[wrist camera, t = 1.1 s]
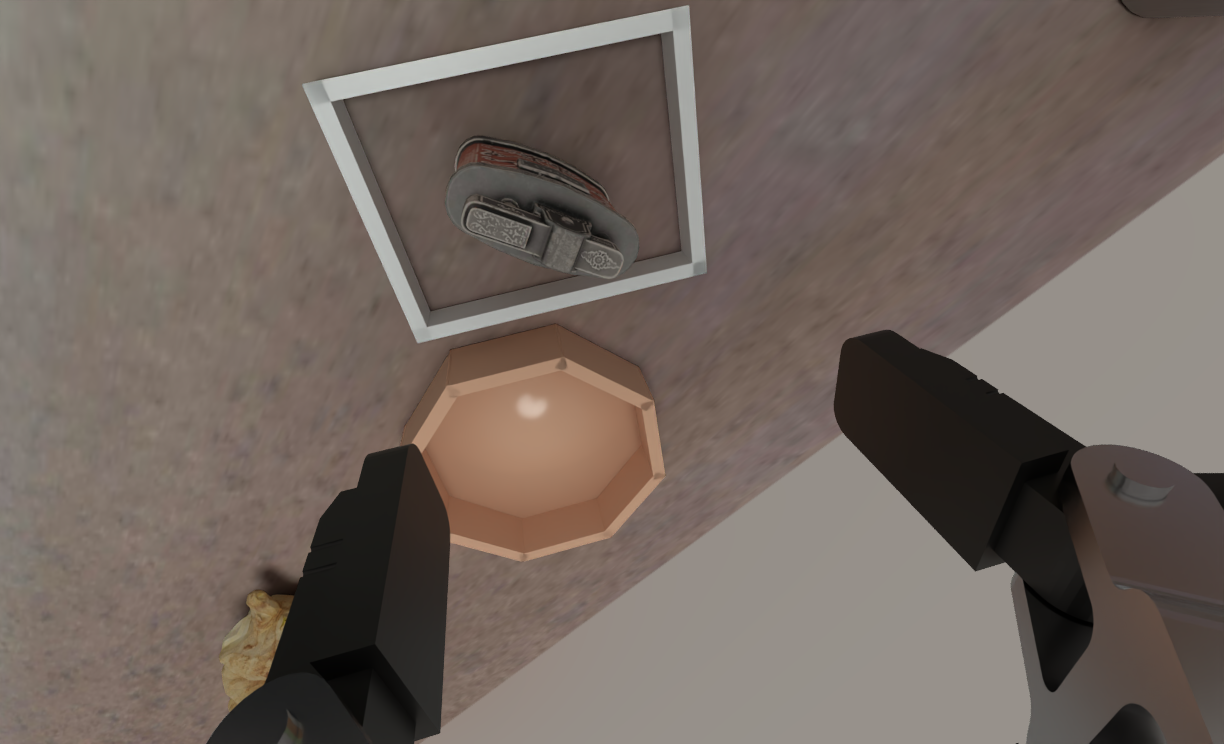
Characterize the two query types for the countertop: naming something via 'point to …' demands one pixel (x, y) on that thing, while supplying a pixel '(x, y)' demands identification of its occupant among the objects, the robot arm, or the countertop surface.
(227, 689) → the ginger root
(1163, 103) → the countertop surface
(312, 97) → the open rectangular frame
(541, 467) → the bowl
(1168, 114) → the countertop surface
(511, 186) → the lighter
